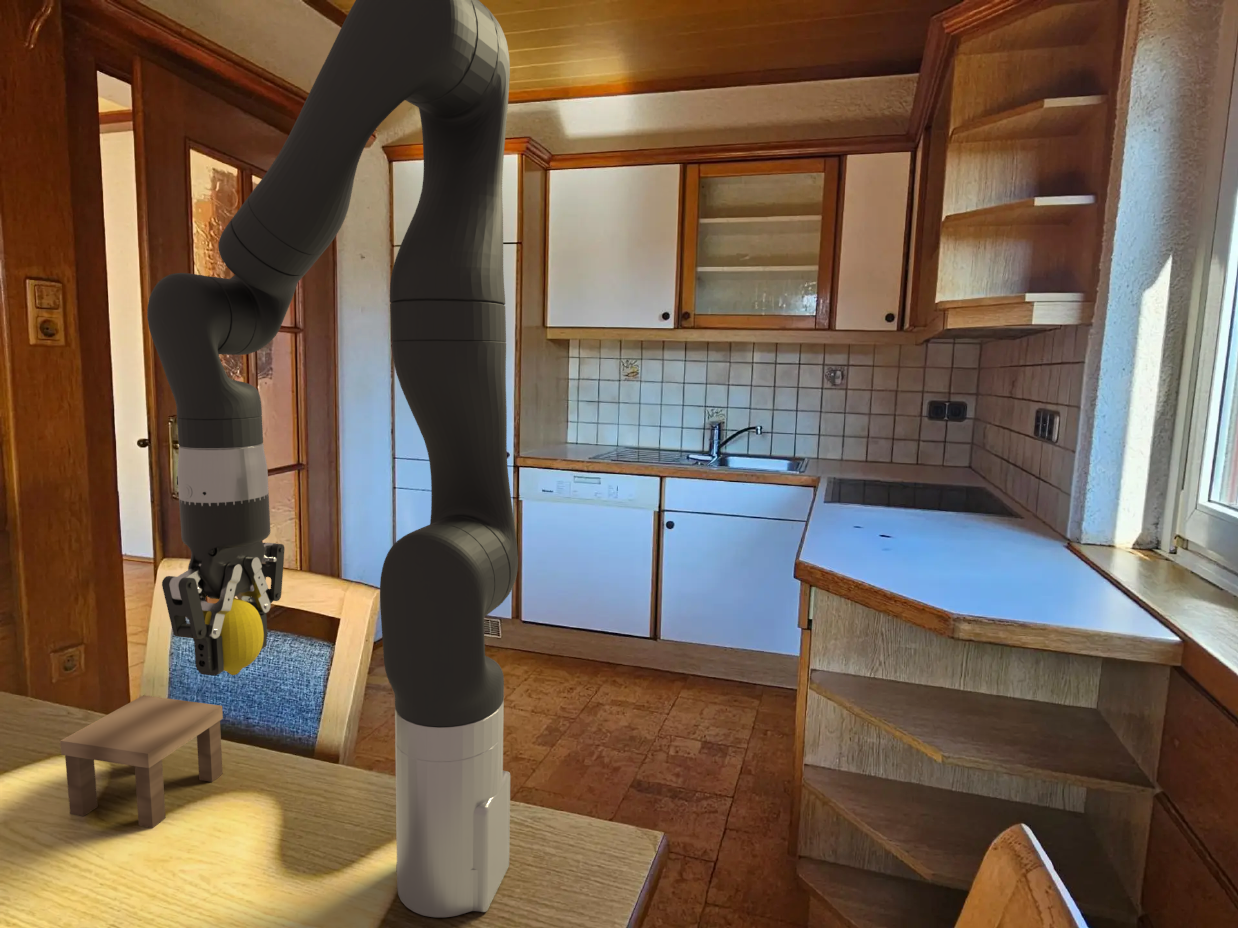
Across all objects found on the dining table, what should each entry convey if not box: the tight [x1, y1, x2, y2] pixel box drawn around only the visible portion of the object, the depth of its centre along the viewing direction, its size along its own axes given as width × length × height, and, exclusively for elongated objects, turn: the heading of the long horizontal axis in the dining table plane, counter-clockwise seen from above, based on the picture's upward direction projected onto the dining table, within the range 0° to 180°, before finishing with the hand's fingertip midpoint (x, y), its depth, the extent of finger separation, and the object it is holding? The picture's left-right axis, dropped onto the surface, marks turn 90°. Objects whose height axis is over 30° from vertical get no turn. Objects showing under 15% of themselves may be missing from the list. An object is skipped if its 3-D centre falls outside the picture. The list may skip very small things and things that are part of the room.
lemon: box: [205, 596, 264, 676], centre depth 71 cm, size 6×6×8 cm
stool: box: [59, 694, 224, 829], centre depth 76 cm, size 10×10×8 cm
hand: (234, 659), depth 71 cm, fingers closed on lemon, 5 cm apart
